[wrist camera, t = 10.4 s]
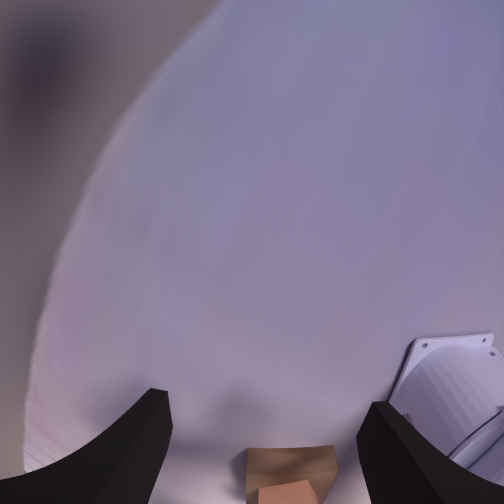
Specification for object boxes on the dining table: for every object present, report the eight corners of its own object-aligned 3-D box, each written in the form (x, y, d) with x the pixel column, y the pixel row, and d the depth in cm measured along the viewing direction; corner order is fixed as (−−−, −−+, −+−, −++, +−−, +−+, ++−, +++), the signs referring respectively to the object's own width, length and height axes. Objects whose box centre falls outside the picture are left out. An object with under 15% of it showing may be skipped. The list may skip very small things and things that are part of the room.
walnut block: (333, 442, 22) (338, 470, 19) (319, 479, 24) (322, 503, 21) (247, 445, 22) (245, 474, 19) (248, 481, 24) (246, 506, 21)
